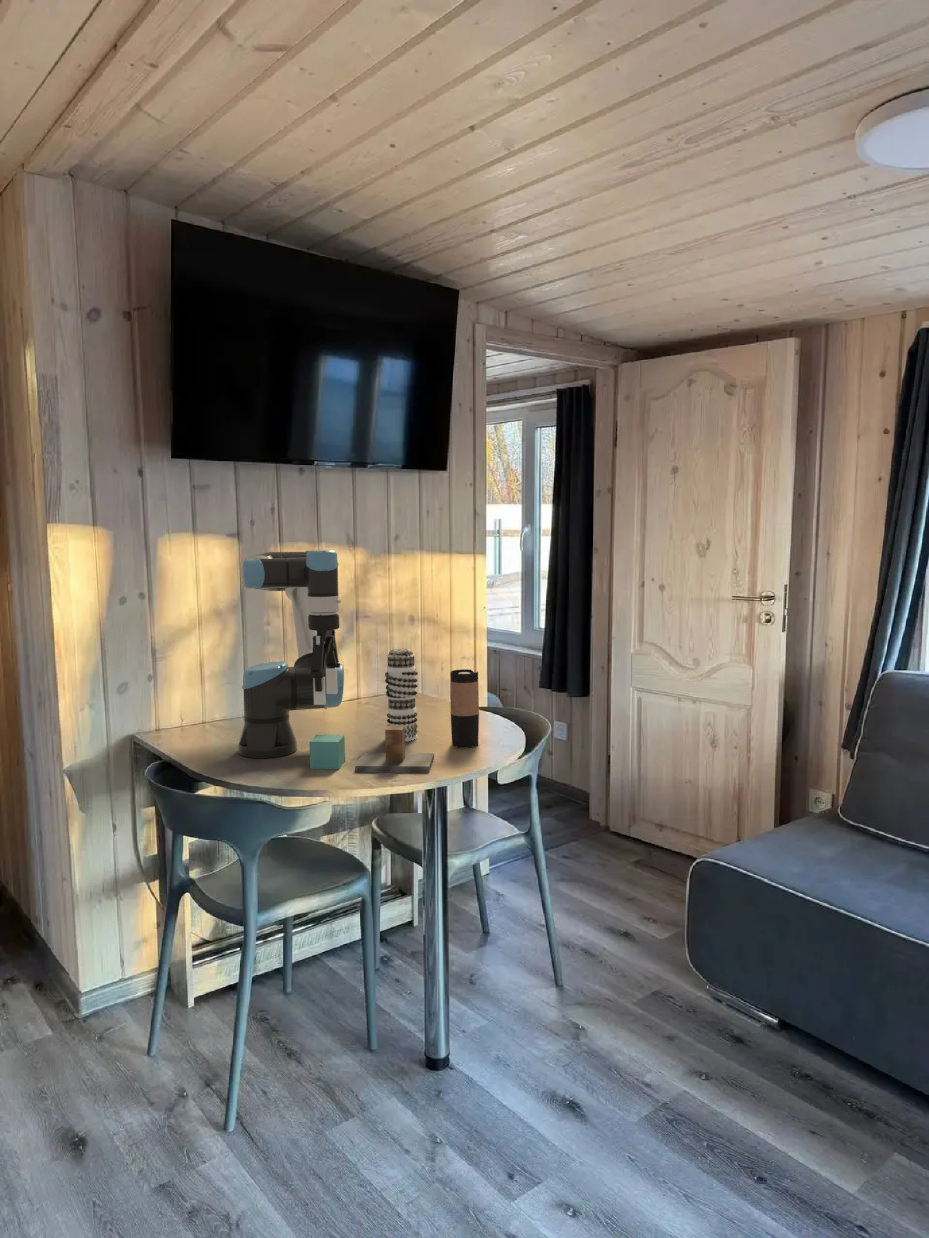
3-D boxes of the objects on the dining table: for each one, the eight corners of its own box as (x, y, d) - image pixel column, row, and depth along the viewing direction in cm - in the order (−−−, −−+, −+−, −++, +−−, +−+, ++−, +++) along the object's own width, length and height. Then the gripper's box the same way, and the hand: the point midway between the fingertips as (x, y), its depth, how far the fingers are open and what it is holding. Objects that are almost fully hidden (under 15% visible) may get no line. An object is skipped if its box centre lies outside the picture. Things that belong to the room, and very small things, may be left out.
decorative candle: (420, 733, 246) (418, 647, 243) (417, 741, 237) (416, 651, 234) (388, 733, 246) (386, 647, 243) (384, 742, 237) (382, 652, 234)
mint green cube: (310, 768, 211) (309, 741, 210) (317, 760, 218) (316, 734, 217) (339, 769, 211) (338, 741, 210) (345, 761, 218) (344, 734, 217)
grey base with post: (355, 771, 208) (354, 733, 207) (363, 758, 220) (363, 722, 219) (429, 772, 207) (428, 733, 206) (434, 759, 219) (433, 722, 218)
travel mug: (449, 747, 230) (448, 673, 228) (453, 740, 238) (452, 669, 235) (477, 748, 229) (476, 674, 227) (480, 741, 236) (480, 669, 234)
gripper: (327, 618, 198) (330, 709, 200) (348, 608, 222) (350, 689, 225) (295, 618, 198) (298, 709, 200) (320, 608, 223) (322, 689, 225)
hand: (326, 699), depth 212 cm, fingers open, 13 cm apart
